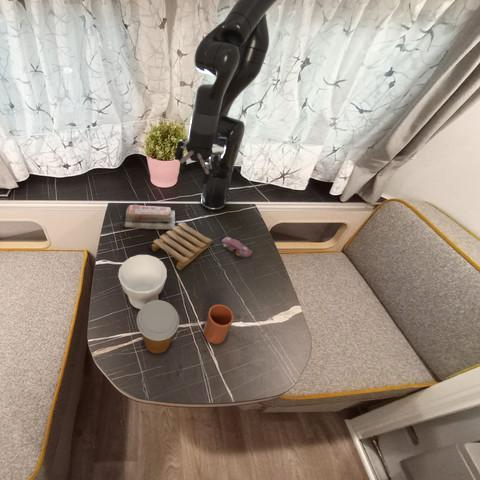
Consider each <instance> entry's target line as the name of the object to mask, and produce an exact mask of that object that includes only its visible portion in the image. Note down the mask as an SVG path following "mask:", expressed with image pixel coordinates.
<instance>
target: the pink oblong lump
mask: <svg viewBox="0 0 480 480" xmlns="http://www.w3.org/2000/svg"><path fill="white" fill-rule="evenodd" d="M221 244H222V246H223V248H226V249H227V250H229V251H230V252H234V251H235V250H236V251H235V252H234V253H235V254H236V256H238V257H243V258H250V257H251V256H252V254H253V250H252V249H250V248H249V247H247V246H246V245H245V244H243V243H242V242H241V241H240V240H238V239H235V238H232V237H230V236H225V237H224V238H223V239H222V240H221Z"/></svg>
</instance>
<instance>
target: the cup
mask: <svg viewBox="0 0 480 480" xmlns="http://www.w3.org/2000/svg"><path fill="white" fill-rule="evenodd" d="M167 270H168V269H167V267H166V265H165V264H164V262H163V261H162V260H160V259H159V258H158V257H156V256H153V255H150V254H136V255H134V256H131V257H128V259H126V260H124V261H123V262H122V264H121V265H120V266H119V269H118V275H117V277H118V280H119V282H120V286H121V287H122V289H123V292H124V293H125V294H126V295H127V298H128V301H129V304H130V305H131V306H133V307H134V308H136V309H139V310H140V309H141V308H142V307H143V306H144V305H145V304H147V303H148V302H150V301H154V300H159V294H160V293H162V292H163V291H162V290H163V289H164V286H165V284H166V281H167V276H168V275H167V274H168V273H167Z"/></svg>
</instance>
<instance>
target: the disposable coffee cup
mask: <svg viewBox="0 0 480 480" xmlns="http://www.w3.org/2000/svg"><path fill="white" fill-rule="evenodd" d="M136 326H137V329H138V331H139V333H140V334H141V337H142V339H143V342H144V346H145V347H146V348H145V349H147V350H148V351H149V352H151V353H153V354H162V353H165V352H166V351H167V350H168V348H169V347H170V344H171V341H172V339H173V337H174V335H175V334H176V332H177V331H178V329H179V327H180V316H179V313H178V311H177V310H176V309H175V306H173V305H172V304H171V303H169V302H168V301H165V300H160V299H158V300H154V301H150V302H148V303H147V304H145V305H144V306H143V307H142V308H141V309H139V311H138V313H137V315H136Z"/></svg>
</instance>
